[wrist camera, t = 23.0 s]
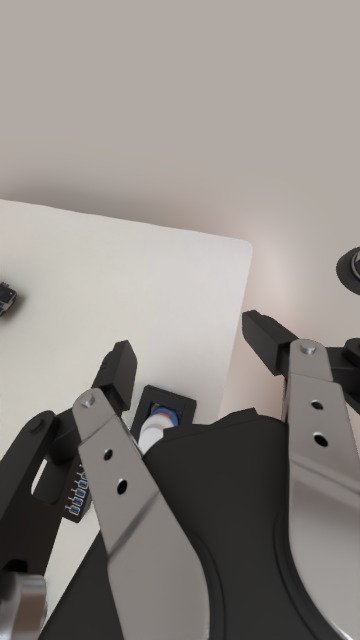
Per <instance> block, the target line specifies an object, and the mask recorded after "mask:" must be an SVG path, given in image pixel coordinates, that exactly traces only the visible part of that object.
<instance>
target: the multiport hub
mask: <svg viewBox="0 0 360 640" xmlns="http://www.w3.org/2000/svg"><path fill="white" fill-rule="evenodd" d="M91 500H92V497H91V493H90V490H89V486H88V483H87V479H86V475H85V472H84V468H83V465H82V461H81V458H80V461H79V464H78V468H77V471H76V474H75V477H74V481H73V484H72V487H71V490H70V493H69V497H68V500H67V503H66V506H65V510H64V513H63V516H62V517H64V518H66V519H68V520H71V521H73V522H75V523H79V522H80V521H81V519H82V518H83V516H84V515H85V513H86V512H87V511H88V509H89V506H90V503H91Z"/></svg>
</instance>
